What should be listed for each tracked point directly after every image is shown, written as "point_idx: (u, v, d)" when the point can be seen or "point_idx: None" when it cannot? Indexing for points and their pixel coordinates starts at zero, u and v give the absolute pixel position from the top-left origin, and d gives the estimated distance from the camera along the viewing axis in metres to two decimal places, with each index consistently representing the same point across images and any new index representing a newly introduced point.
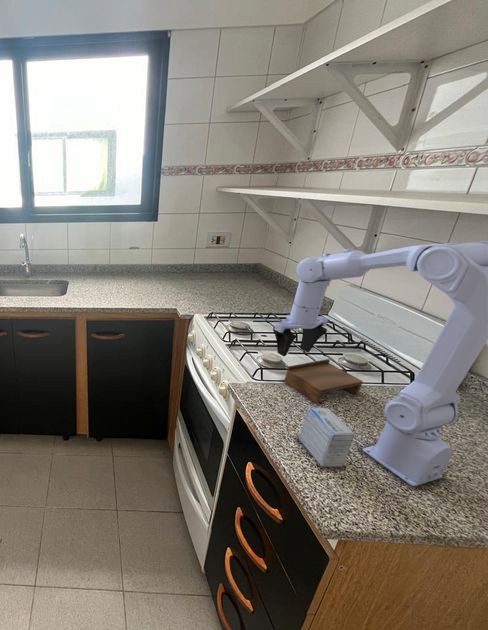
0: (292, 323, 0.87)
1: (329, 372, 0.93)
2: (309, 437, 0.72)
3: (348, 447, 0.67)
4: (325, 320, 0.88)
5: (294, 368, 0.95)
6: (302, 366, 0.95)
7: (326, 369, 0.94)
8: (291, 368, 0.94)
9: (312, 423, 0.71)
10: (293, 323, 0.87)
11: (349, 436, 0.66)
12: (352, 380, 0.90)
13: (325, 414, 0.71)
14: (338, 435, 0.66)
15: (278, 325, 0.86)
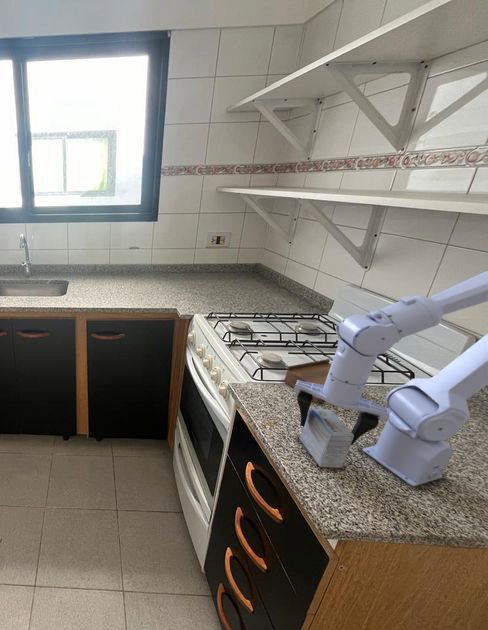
0: (319, 390, 0.69)
1: None
2: (309, 437, 0.72)
3: (347, 448, 0.67)
4: (382, 413, 0.62)
5: (294, 368, 0.95)
6: (302, 366, 0.95)
7: (326, 369, 0.94)
8: (291, 368, 0.94)
9: (312, 423, 0.71)
10: (320, 391, 0.68)
11: (348, 437, 0.66)
12: None
13: (326, 415, 0.71)
14: (336, 436, 0.66)
15: (296, 383, 0.71)
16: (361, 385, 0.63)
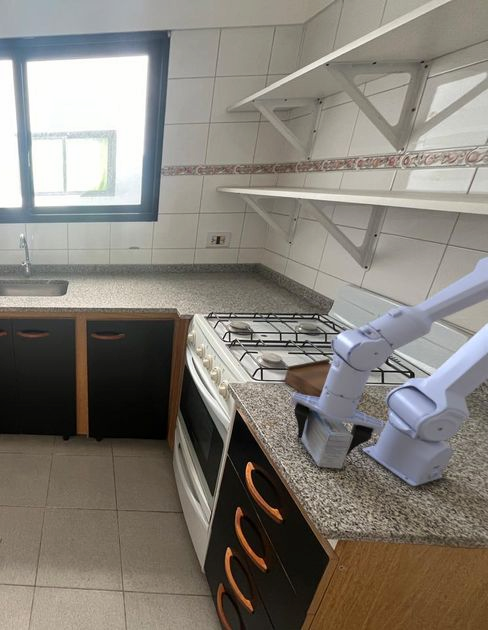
0: (315, 403, 0.70)
1: None
2: (310, 437, 0.72)
3: (346, 449, 0.67)
4: (376, 426, 0.64)
5: (294, 368, 0.95)
6: (302, 366, 0.95)
7: (326, 369, 0.94)
8: (291, 368, 0.94)
9: (312, 423, 0.71)
10: (316, 403, 0.70)
11: (346, 437, 0.66)
12: None
13: None
14: (334, 436, 0.66)
15: None
16: (356, 399, 0.64)
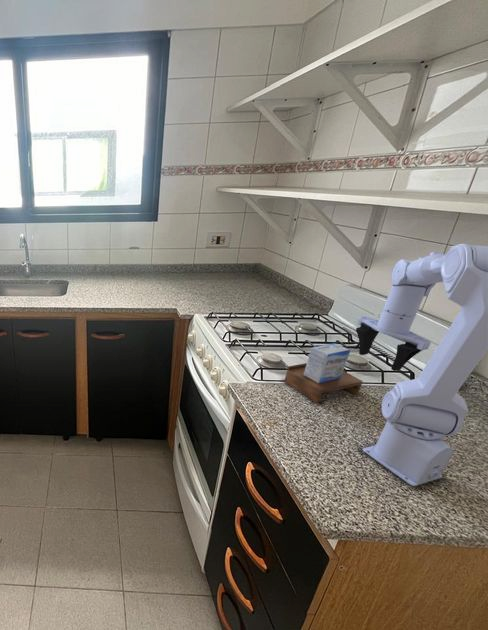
0: (377, 323, 0.85)
1: None
2: None
3: (322, 365, 0.87)
4: (419, 342, 0.77)
5: (294, 368, 0.95)
6: (302, 366, 0.95)
7: None
8: (291, 368, 0.94)
9: None
10: (377, 324, 0.85)
11: (322, 354, 0.86)
12: (352, 380, 0.90)
13: (336, 347, 0.88)
14: (315, 350, 0.88)
15: None
16: (404, 316, 0.78)
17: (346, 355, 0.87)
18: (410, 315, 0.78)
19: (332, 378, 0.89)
